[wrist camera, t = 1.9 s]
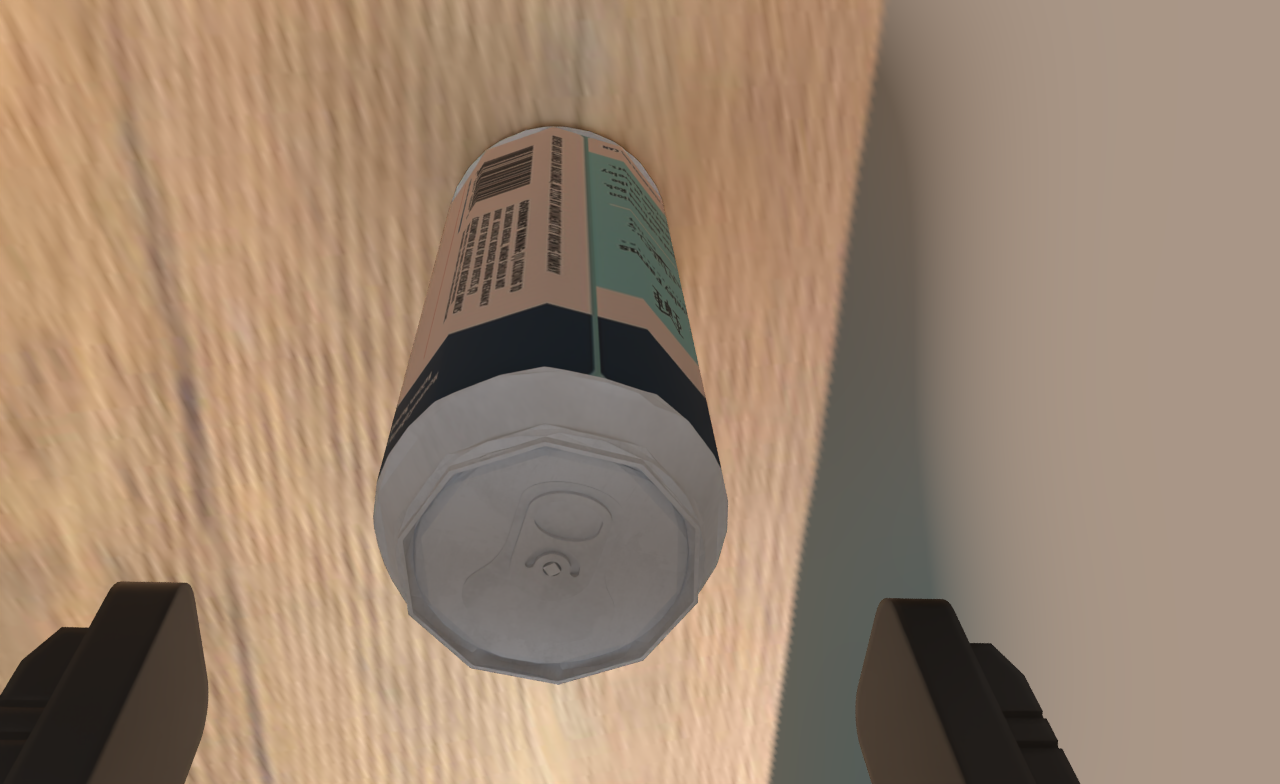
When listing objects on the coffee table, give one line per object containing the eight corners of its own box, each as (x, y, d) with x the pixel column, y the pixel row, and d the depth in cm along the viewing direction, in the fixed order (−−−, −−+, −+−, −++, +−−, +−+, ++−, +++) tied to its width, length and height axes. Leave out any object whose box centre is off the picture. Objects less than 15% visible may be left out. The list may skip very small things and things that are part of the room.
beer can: (429, 290, 25) (330, 670, 14) (478, 91, 22) (402, 369, 12) (628, 342, 26) (670, 732, 15) (694, 155, 23) (795, 464, 13)
